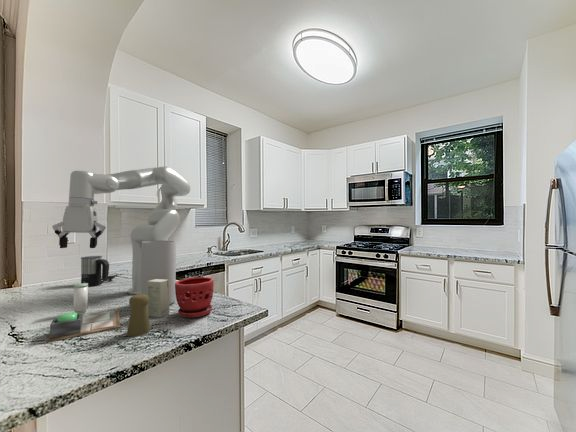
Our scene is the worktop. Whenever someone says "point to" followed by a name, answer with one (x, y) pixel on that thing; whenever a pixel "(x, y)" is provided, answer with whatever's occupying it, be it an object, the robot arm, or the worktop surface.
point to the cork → (138, 315)
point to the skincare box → (158, 297)
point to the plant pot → (194, 296)
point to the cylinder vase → (159, 264)
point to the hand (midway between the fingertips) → (78, 247)
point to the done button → (67, 317)
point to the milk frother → (94, 270)
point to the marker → (80, 298)
